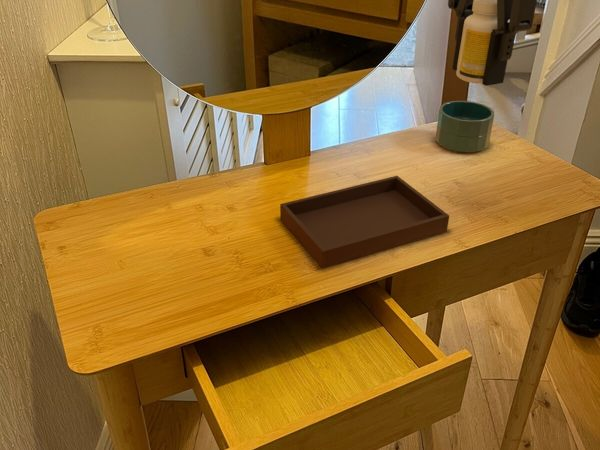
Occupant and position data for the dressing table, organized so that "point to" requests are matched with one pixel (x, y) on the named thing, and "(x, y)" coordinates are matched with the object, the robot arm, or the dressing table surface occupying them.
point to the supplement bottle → (476, 41)
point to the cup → (464, 126)
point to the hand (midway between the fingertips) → (477, 75)
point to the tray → (362, 220)
